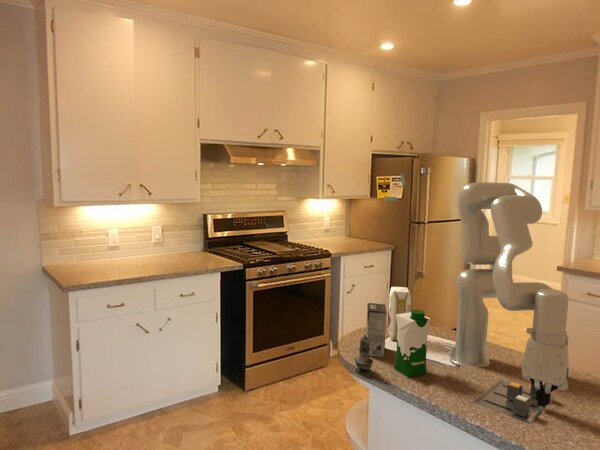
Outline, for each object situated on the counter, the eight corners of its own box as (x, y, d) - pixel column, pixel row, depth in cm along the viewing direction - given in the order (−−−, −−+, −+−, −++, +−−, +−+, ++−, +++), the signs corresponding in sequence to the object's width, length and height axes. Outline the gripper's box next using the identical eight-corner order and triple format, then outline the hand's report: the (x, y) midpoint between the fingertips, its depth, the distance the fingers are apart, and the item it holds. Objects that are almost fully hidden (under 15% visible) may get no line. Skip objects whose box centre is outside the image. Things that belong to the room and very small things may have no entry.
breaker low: (512, 412, 116) (513, 398, 116) (517, 407, 119) (518, 393, 118) (524, 417, 114) (526, 402, 114) (529, 411, 117) (530, 397, 116)
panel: (471, 406, 122) (471, 401, 122) (499, 383, 136) (500, 379, 136) (530, 428, 112) (530, 424, 112) (554, 401, 126) (555, 397, 126)
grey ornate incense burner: (350, 368, 144) (352, 332, 142) (366, 366, 146) (368, 330, 145) (360, 376, 138) (361, 338, 137) (376, 373, 141) (378, 336, 139)
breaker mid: (505, 398, 124) (507, 384, 123) (510, 394, 126) (511, 380, 126) (517, 402, 122) (518, 388, 121) (522, 397, 124) (523, 384, 124)
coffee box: (365, 346, 163) (367, 302, 162) (383, 347, 163) (385, 303, 161) (365, 355, 154) (367, 310, 153) (384, 357, 154) (386, 311, 152)
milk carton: (408, 379, 137) (411, 315, 135) (389, 367, 145) (392, 307, 143) (430, 374, 141) (434, 312, 139) (411, 363, 149) (414, 304, 147)
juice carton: (406, 334, 177) (408, 286, 174) (409, 342, 168) (412, 292, 166) (386, 333, 177) (389, 285, 175) (389, 341, 169) (391, 291, 167)
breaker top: (529, 395, 125) (530, 382, 125) (533, 391, 128) (535, 378, 128) (541, 399, 123) (542, 386, 123) (545, 395, 126) (546, 382, 126)
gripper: (512, 333, 119) (507, 399, 121) (577, 349, 109) (570, 421, 111) (522, 326, 125) (517, 390, 127) (585, 341, 114) (578, 410, 116)
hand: (542, 404), depth 119 cm, fingers closed
